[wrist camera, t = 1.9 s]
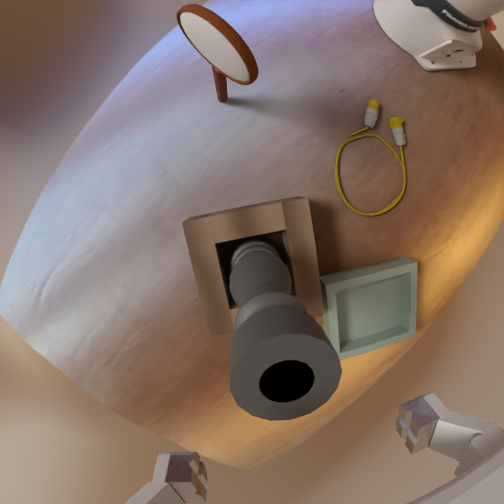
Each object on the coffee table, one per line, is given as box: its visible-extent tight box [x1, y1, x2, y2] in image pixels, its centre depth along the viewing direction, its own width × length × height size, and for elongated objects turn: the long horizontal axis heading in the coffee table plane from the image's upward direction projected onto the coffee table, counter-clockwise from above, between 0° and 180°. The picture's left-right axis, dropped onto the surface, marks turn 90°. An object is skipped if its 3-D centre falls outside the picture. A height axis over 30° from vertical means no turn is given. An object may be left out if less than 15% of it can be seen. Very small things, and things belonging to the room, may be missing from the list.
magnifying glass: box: [177, 4, 258, 103], centre depth 23 cm, size 9×2×20 cm, turn 43°
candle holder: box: [230, 237, 342, 421], centre depth 25 cm, size 6×6×25 cm
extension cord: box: [335, 99, 406, 216], centre depth 35 cm, size 12×16×2 cm
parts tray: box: [320, 256, 418, 360], centre depth 38 cm, size 14×12×4 cm
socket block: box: [182, 196, 324, 336], centre depth 35 cm, size 14×14×5 cm
